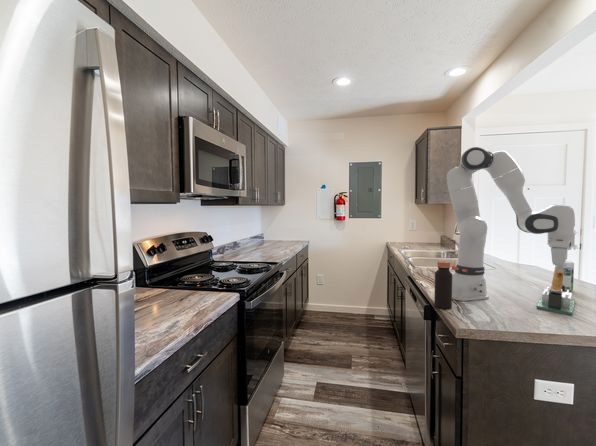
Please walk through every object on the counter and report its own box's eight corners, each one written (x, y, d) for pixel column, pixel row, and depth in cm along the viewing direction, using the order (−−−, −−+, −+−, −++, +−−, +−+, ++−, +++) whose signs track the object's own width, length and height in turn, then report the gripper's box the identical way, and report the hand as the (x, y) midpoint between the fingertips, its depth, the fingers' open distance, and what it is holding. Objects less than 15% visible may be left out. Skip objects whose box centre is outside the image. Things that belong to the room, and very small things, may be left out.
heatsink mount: (572, 315, 115) (573, 298, 114) (536, 308, 123) (537, 292, 122) (575, 301, 131) (575, 286, 130) (543, 296, 138) (544, 281, 138)
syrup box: (559, 289, 148) (560, 262, 147) (553, 286, 154) (555, 259, 153) (573, 290, 146) (574, 262, 145) (567, 287, 152) (568, 260, 151)
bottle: (444, 310, 121) (445, 264, 120) (430, 305, 128) (431, 261, 126) (455, 308, 124) (456, 262, 123) (441, 303, 130) (442, 259, 129)
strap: (561, 295, 119) (561, 292, 118) (549, 293, 122) (549, 290, 121) (565, 270, 130) (565, 267, 129) (553, 268, 132) (553, 266, 132)
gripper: (553, 238, 136) (552, 267, 137) (548, 243, 122) (548, 275, 123) (571, 239, 132) (571, 269, 133) (569, 244, 118) (568, 277, 118)
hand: (559, 272), depth 128 cm, fingers closed
